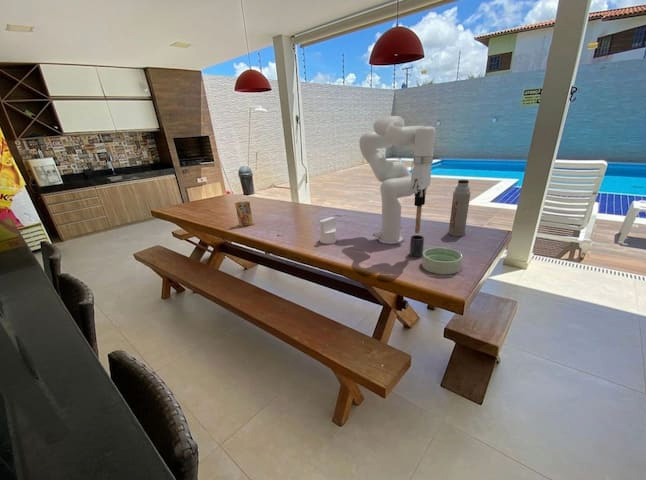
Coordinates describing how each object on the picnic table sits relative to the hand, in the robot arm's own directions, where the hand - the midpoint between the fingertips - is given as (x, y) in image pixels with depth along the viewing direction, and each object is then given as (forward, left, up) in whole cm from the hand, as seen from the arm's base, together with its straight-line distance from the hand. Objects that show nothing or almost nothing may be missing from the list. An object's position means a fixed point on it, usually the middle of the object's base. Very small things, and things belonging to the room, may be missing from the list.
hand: (419, 204), depth 131 cm
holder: (0, 0, -24) cm, 24 cm away
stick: (0, 0, -13) cm, 13 cm away
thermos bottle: (+24, +30, -24) cm, 45 cm away
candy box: (-103, +48, -24) cm, 116 cm away
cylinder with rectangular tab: (-44, +19, -24) cm, 53 cm away
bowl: (+9, -12, -24) cm, 28 cm away
